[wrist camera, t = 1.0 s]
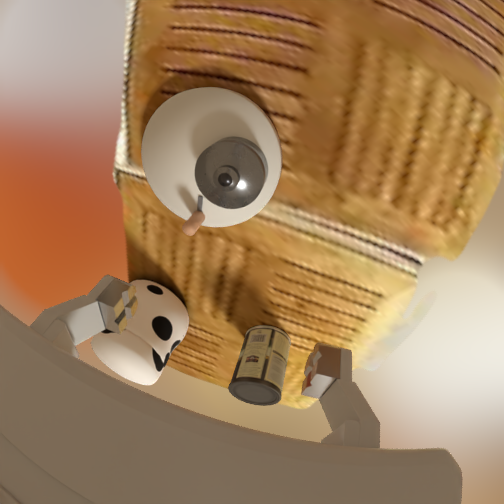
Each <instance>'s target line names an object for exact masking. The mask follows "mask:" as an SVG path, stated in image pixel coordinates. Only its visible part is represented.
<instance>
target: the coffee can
mask: <svg viewBox="0 0 504 504" xmlns="http://www.w3.org/2000/svg"><path fill="white" fill-rule="evenodd" d="M290 345H291V340H290V338H289V336H288V335H287V334H286V333H285V332H284V331H282V330H280V329H279V328H276V327H273V326H268V325H259V326H255V327H252V328H250V329H249V330H248V331H247V332H246V335H245V339H244V343H243V346H242V349H241V352H240V355H239V359H238V362H237V365H236V368H235V371H234V374H233V377H232V380H231V383H230V384H229V387H228V389H229V391H230V393H231V394H232V395H233V396H234V397H236V398H237V399H239V400H241V401H244V402H246V403H250V404H254V405H263V406H265V405H273V404H276V403H278V402H279V401H280V400H281V392H282V387H283V382H284V376H285V371H286V366H287V360H288V354H289V348H290Z"/></svg>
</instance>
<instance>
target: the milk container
mask: <svg viewBox="0 0 504 504" xmlns="http://www.w3.org/2000/svg"><path fill="white" fill-rule="evenodd" d="M129 284H132V285H134V286H136V291H137V292H136V293H135V296H136V298H137V299H138V307H137V310H136V312H135V314H134V316H133V317H132V318H130V319H128V320H127V326H126V327H125V329H124V330H123V332H122V333H121V335H120V334H118V333H115V332H113V331H111V330H108V329H106V328H105V330H103V331H101V332H99V333H97V334H96V335H94V337H93V339H92V341H91V346H92V349H93V351H94V352H95V354H96V355H97V356H98V358H99V359H100V360H101V361H102V362H103V363H104V364H105V365H107V366H108V367H109V368H110V369H112V370H113V371H114V372H116V373H117V374H119V375H121V376H122V377H124V378H126V379H129V380H131V381H133V382H136V383H139V384H143V385H152V384H153V383H155V382H156V381H157V380H158V378H159V377H160V375H161V373H162V371H163V368H164V367H165V365H166V363H167V361H168V359H169V356H170V354H171V353H172V351H173V350H174V349H175V348H176V346H177V345H178V344H179V343H180V342H181V341H182V340H183V338H184V336H185V334H186V332H187V329H188V324H189V315H188V312H187V309H186V307H185V305H184V304H183V302H182V301H181V300H180V298H179V297H177V296H176V295H175V294H174V293H173V292H172V291H171V290H170V289H168V288H166V287H164V286H163V285H161V284H159V283H157V282H154V281H150V280H145V279H139V280H135V281H132V282H130V283H129Z"/></svg>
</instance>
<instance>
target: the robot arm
mask: <svg viewBox="0 0 504 504" xmlns="http://www.w3.org/2000/svg"><path fill="white" fill-rule="evenodd" d="M136 292H137V291H136V286H134V285H132V284H129V283H127V282H125V281H122V280H120V279H117V278H115V277H113V276H110V275H106V276H104V277H103V278H102V279H101V280H100V281H99V283H98V284H97V285H96V286H95V287H94V288H93V289H92V290H91V291H90V293H89V294H88V295H87V296H86V295H83V296H80V297H77V298H75V299H72V300H69V301H67V302H64V303H61V304H59V305H56V306H53V307H50V308H48V309H45V310H44V311H43V312H42V313H41V314H40V315H39V316H38V317H37V319H36V320H35V321H34V322H33V323H32V324H31V326H30V327H29V326H27V325H26V324H25V323H23V322H22V321H20V320H19V319H18V318H17V317H15V316H14V315H13V314H11V313H10V312H9V311H7V310H6V309H5V308H4V307H2V306H1V305H0V504H461V498H462V472H461V469H460V467H459V465H458V464H457V462H456V461H455V459H454V458H453V457H452V455H451V454H450V452H449V451H448V450H447V449H444V448H431V449H380V422H379V420H378V419H377V417H376V416H375V414H374V412H373V411H372V409H371V407H370V406H369V404H368V403H367V401H366V399H365V398H364V396H363V394H362V393H361V391H360V390H359V388H358V386H357V385H356V383H355V382H352V352H351V350H348V349H344V348H339V347H336V346H331V345H327V344H322V343H317V344H316V345H315V347H314V352H313V353H310V355H309V357H308V359H307V362H306V366H305V371H304V374H305V376H306V378H305V380H304V381H303V385H302V393H301V395H305V396H309V397H313V398H318V399H319V401H320V403H321V405H322V408H323V410H324V412H325V415H326V417H327V419H328V422H329V424H330V427H331V429H332V431H333V432H332V433H331V434H329V435H328V436H327V437H325V438H324V439H323V440H322V441H321V443H318V442H312V441H306V440H300V439H294V438H289V437H284V436H279V435H274V434H270V433H266V432H261V431H257V430H253V429H249V428H245V427H242V426H238V425H234V424H231V423H228V422H224V421H221V420H217V419H214V418H211V417H208V416H205V415H202V414H199V413H196V412H193V411H190V410H188V409H185V408H182V407H180V406H177V405H174V404H172V403H169V402H167V401H164V400H161V399H159V398H157V397H154V396H152V395H150V394H148V393H145V392H143V391H141V390H138V389H136V388H134V387H132V386H130V385H128V384H126V383H123V382H121V381H119V380H117V379H115V378H113V377H111V376H109V375H107V374H105V373H104V372H102V371H100V370H98V369H96V368H94V367H92V366H90V365H89V364H87V363H85V362H83V361H82V360H80V359H78V358H79V353H78V351H77V349H76V347H75V346H76V345H78V344H79V343H81V342H83V341H85V340H87V339H88V338H90V337H92V336H94V335H96V334H97V333H99V332H101V331H103V330H105V328H106V329H108V330H111V331H113V332H115V333H118V334H120V335H121V333H122V332H123V330H124V329H125V327H126V326H127V320H128V319H130V318H132V317H133V316H134V314H135V312H136V310H137V307H138V299H137V298H136V296H135V293H136Z"/></svg>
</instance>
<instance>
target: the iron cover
mask: <svg viewBox="0 0 504 504" xmlns="http://www.w3.org/2000/svg"><path fill="white" fill-rule="evenodd" d="M194 174H195V180H196V184H197V186H198V188H199V190H200V192H201V193H202V194H203V196H204V197H205V198H206V199H207V200H209V201H210V202H211V203H213V204H215V205H217V206H219V207H222V208H226V209H238V208H242V207H245V206H247V205H249V204H251V203H252V202H253V201H254V200H255V199H256V198H257V197H258V195H259V194H260V192H261V190H262V188H263V186H264V184H265V182H266V180H267V177H268V163H267V159H266V157H265V155H264V153H263V152H262V150H261V149H260V148H259V147H258V146H257V145H256V144H255V143H253V142H252V141H250V140H248V139H245V138H242V137H236V136H232V137H226V138H223V139H220V140H218V141H217V142H215V143H214V144H212V145H211V146H209V147H208V148H206V149H205V150H204V151H203V152H202V153H201V154H200V156H199V157H198V159H197V161H196V165H195V173H194Z"/></svg>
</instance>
